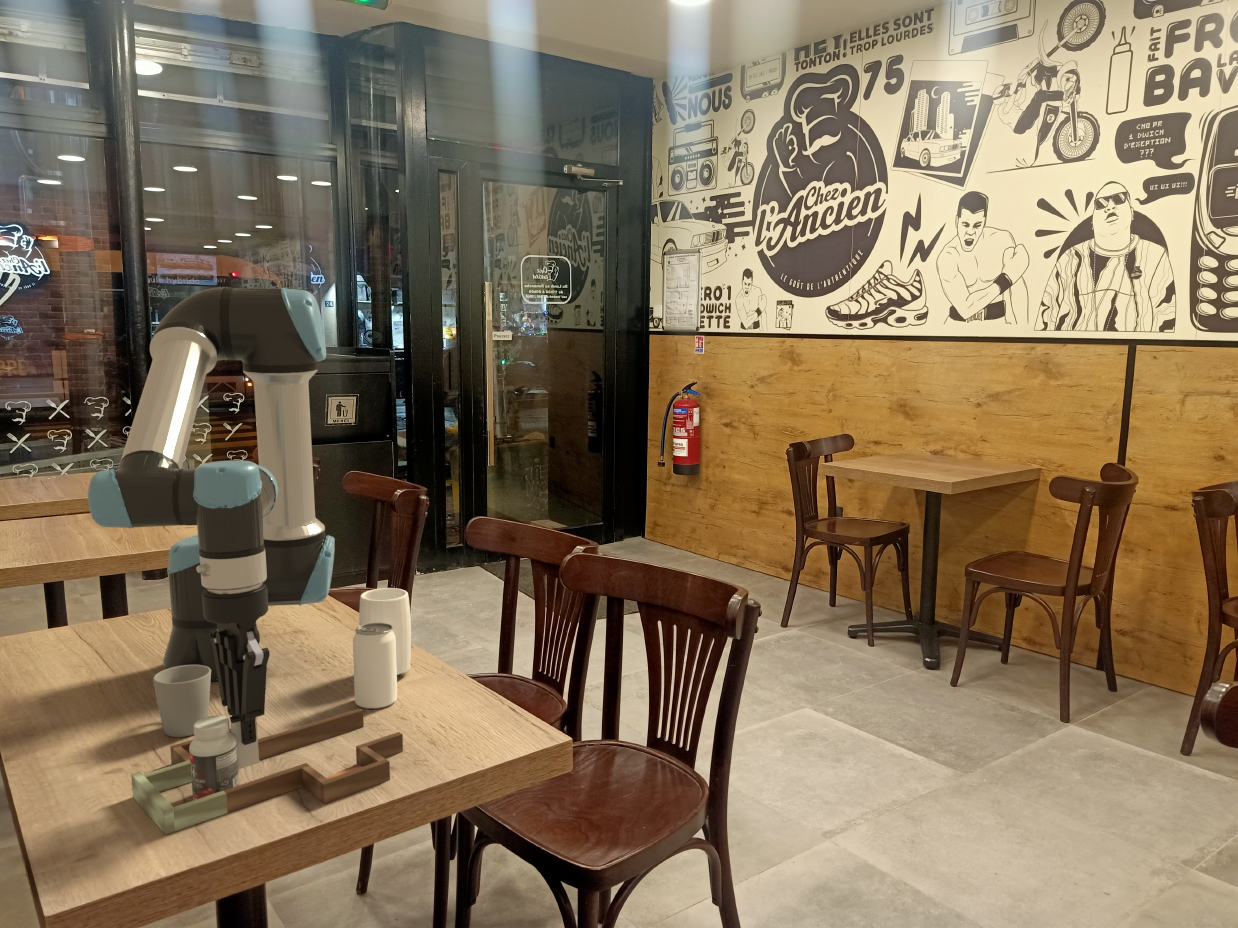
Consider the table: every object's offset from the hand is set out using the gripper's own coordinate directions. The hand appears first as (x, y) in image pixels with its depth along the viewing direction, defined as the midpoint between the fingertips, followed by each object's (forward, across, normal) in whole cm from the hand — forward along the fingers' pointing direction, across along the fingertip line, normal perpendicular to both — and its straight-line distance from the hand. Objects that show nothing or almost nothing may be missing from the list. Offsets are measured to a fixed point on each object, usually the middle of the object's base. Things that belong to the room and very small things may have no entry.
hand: (246, 763), depth 116 cm
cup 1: (+3, -23, 0) cm, 23 cm away
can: (+3, -12, +25) cm, 28 cm away
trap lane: (+3, 0, +4) cm, 5 cm away
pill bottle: (+3, +1, -4) cm, 5 cm away
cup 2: (+3, -21, +32) cm, 39 cm away
